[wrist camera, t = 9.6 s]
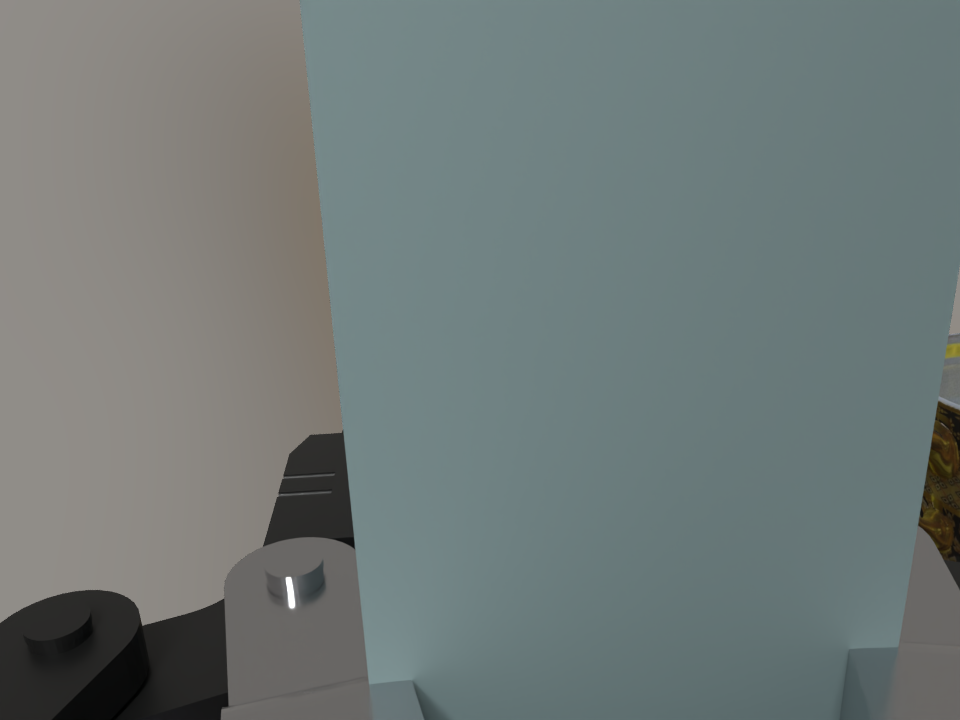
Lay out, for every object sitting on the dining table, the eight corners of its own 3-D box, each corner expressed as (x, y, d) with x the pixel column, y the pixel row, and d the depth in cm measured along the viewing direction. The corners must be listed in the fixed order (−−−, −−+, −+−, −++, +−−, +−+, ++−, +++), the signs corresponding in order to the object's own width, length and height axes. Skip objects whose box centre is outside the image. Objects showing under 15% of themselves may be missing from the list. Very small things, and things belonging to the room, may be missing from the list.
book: (634, 813, 16) (664, -75, 11) (781, 1373, 9) (1033, -185, 4) (433, 829, 16) (367, -64, 11) (442, 1409, 9) (283, -163, 4)
